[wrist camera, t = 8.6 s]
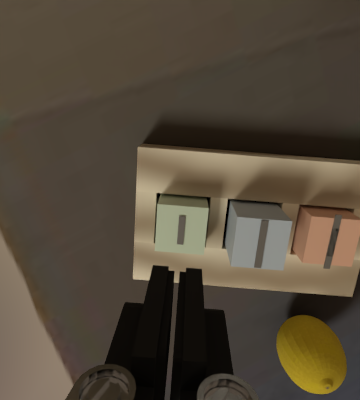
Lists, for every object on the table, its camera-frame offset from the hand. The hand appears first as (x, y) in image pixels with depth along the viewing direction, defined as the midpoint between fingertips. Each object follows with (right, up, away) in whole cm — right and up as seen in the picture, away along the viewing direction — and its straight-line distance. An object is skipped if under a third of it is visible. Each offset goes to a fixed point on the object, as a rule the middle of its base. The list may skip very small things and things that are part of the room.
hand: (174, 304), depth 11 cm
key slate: (+6, +1, +17) cm, 18 cm away
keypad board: (+6, +2, +19) cm, 20 cm away
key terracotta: (+12, +1, +19) cm, 22 cm away
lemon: (+12, -9, +22) cm, 27 cm away
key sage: (0, +2, +19) cm, 19 cm away
